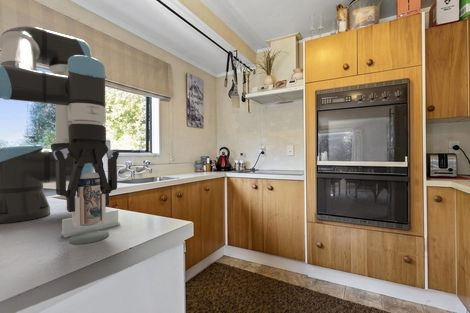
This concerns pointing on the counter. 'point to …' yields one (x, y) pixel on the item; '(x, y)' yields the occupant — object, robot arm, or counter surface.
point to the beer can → (89, 199)
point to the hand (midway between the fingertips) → (89, 222)
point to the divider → (72, 230)
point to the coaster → (88, 237)
